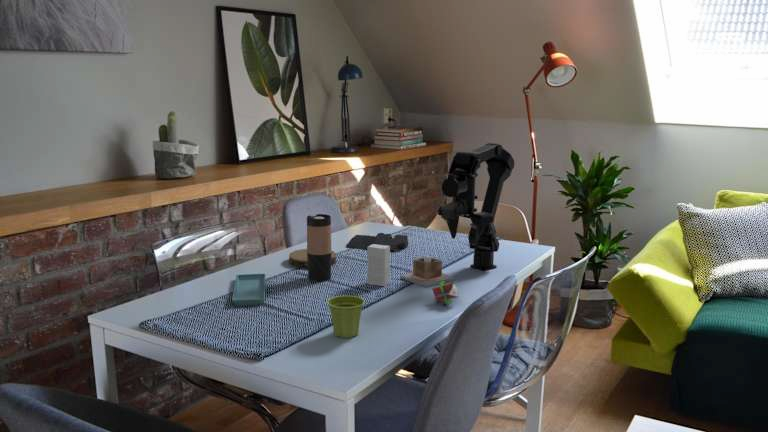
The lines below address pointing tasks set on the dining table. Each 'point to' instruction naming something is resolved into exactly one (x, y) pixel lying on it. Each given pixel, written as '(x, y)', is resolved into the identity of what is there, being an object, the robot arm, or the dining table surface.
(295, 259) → the round wooden board
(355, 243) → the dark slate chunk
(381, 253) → the skincare box
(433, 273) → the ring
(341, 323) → the plant pot
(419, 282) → the beige round peg stand
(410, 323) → the dining table surface
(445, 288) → the geometric puzzle
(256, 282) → the teal serving tray
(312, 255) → the travel mug
